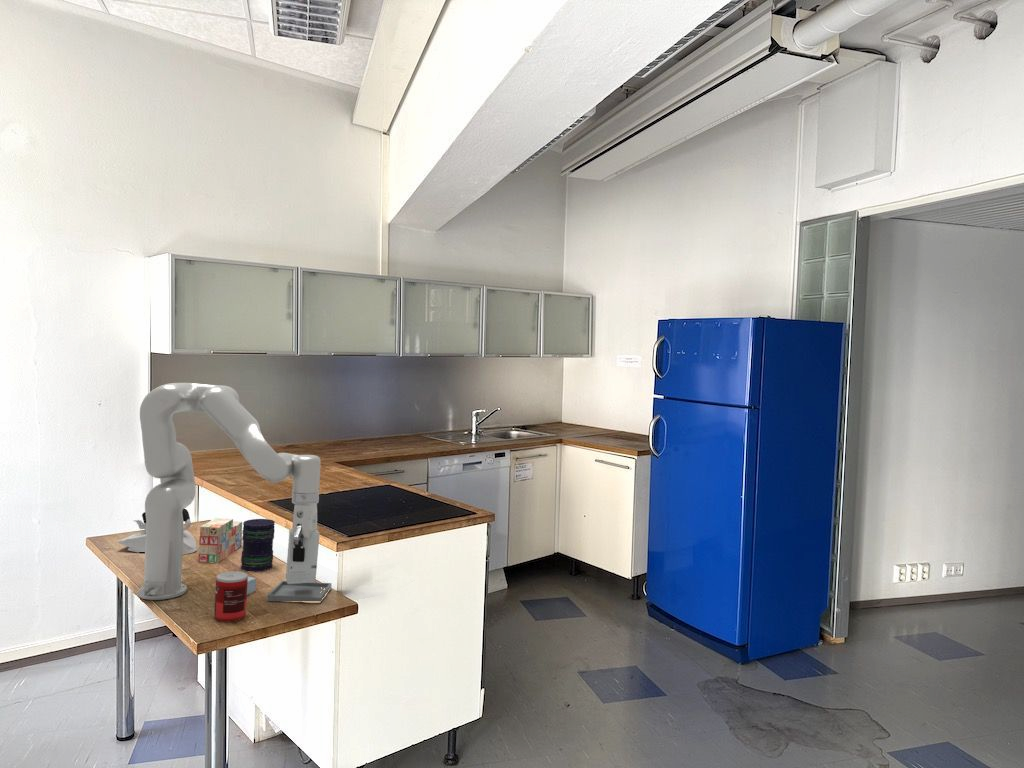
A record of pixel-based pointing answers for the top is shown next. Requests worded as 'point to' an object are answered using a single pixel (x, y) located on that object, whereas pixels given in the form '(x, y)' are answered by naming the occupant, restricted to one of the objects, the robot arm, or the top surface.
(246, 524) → the storage jar
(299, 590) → the slate tray
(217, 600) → the canned food
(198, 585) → the top surface
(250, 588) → the blue-grey painted block
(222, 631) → the top surface
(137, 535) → the iron
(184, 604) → the top surface
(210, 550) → the stack of blocks
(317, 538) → the skincare box
